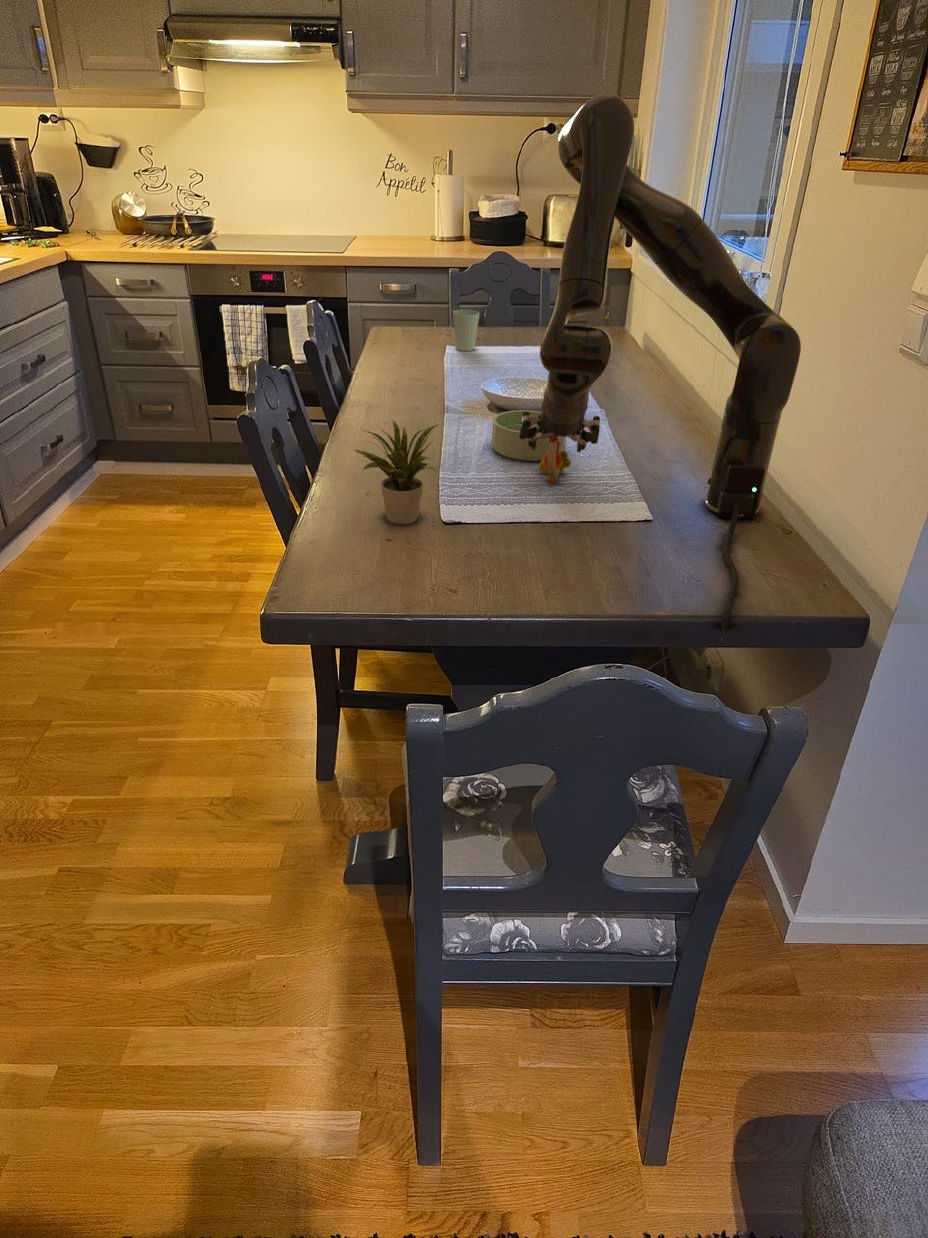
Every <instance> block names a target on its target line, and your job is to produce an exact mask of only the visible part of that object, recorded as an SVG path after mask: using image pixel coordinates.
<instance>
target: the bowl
mask: <svg viewBox="0 0 928 1238" xmlns="http://www.w3.org/2000/svg"><path fill="white" fill-rule="evenodd" d="M524 412H529V413H530V416H532V417H538V416H539V415H540V414H541V411H540V410H539V411H538V410H527V409H526V410H525V409H524V410H523V409H522V410H521V409H519V410H508V411H504V412H500V413H498V414H496V415H495V416H493V418H492V429H491V445H490V446H491V448H492V449H493V450H494V451H495V452H496V453H498V454H499V455H501V456H503V457H505V458H507V459H512V460H517V461H521V462H522V461H523V462H541V461H542V460H543V458H544V457H545V456H546V454H547V453H548V442H549V441H550V438H549V437H547V438H545V439H543V440H541V439H538V440H537V441H536V448H535V449H532V447H529V446H528V442H529V439H528V438H526V439H520V438H519V435H520V424H521V420H522V415H523V413H524ZM534 425H535V424H534ZM557 439H558V440H559V442H560V446H559V448H560V452H561V451H566V445H567V444H566V443H567V437H562V436H558V437H557Z"/></svg>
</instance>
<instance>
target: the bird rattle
mask: <svg viewBox="0 0 928 1238" xmlns="http://www.w3.org/2000/svg"><path fill="white" fill-rule="evenodd" d="M557 437H558V436H549V438H550V441H549V442H548V453H547V454H546V456H545V457H544V458H543V460H542V461H540V463H539V464H538V467H539V468H538V471H539V473H540V474H542V475H546V474H548V477H549V481H550V482H551V483H557V482H558V480H559V475H562V474H563V473H564V469H565V468H566V469H567V468H570V467H571V464H572V462H571V460H570V459H569V457H568V452H567V451H566V450H565V451H561V452H560V448H559V446H560V442H559V440H558V439H557Z"/></svg>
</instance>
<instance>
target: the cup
mask: <svg viewBox="0 0 928 1238" xmlns="http://www.w3.org/2000/svg"><path fill="white" fill-rule="evenodd" d="M452 314H453V330H454V331H453V333H454V343H455V350H457V351H461V352H471V351H474V350H475V347H476V340H477V333H478V325H479V320H480V312H479V311H477V310H472V309H456V310H454V311H452Z"/></svg>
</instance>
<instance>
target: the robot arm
mask: <svg viewBox="0 0 928 1238" xmlns="http://www.w3.org/2000/svg"><path fill="white" fill-rule="evenodd" d="M634 137H635V120H634V116H633V113H632V111H631V109H630V107H629V105H628V104H627V102H625V100H624V99H623V98H621V97H620V96H618V95H616V94H614V93H609V92H603V93H599V94H596V95H594V96H593V97H591V98H590V99H588V100H587V101H586V102H585V103H584V104H583V105H582V106H581V107H580V108H579V109H578V110H577V111H576V113H574V115H573V116H571V118H570V119H569V121H568V122H567V123H565V125H564V127H563V128H562V129H561V131H560V133H559V135H558V139H557V153H558V157H559V159H560V162H561V163H562V166H563V167H564V168H565V170H566V171H567V172H568V174H569V175H570V176H571V177H572V179H574V181H576V182H577V183H578V184H579V190H578V191H579V192H578V196H577V199H576V204H575V207H574V211H573V214H572V216H571V220H570V224H569V227H568V231H567V233H566V237H565V241H564V245H563V248H562V253H561V254H562V256H561V260H560V269H559V279H558V289H557V296H556V301H555V305H554V310H553V312H552V315H551V317H550V320H549V323H548V325H547V328H546V330H545V332H544V335H543V338H542V341H541V344H540V347H539V359H540V362H541V365H542V366H543V368H544V370H546V371H547V372H548V375H547V382H546V386H545V389H544V391H543V398H542V403H541V410H540V412H541V414H540V415H539V416H538V417H532V416H530V413H529V412H524V413H523V415H522V420H521V424H520V435H519V438H520V439H526V438H528V439H529V442H528V446H529V447H532V449H535V448H536V441H537V440H538V439H541V440H543V439H545V438H547V437H549V436H562V437H566V438H569V439H570V440H572V441H573V442H574V443H575V442H576V453H581V452H582V451H585V449H586V447H587V445H588V443H590V444H592V445H595V444H597V443H598V442H599V436H600V429H601V417H600V416H598V415H595V416H593V418H592V419H585V415H586V413H587V411H588V407H589V406H588V403H589V397H590V396H589V394H590V390H591V387H592V386H593V385H594V383H596V382H597V380H598V379H599V378H601V376H602V375H603V374H604V372H605V371H606V369H607V367H608V365H609V363H610V360H611V357H612V352H613V344H612V340H611V337H610V335H609V333H608V332H607V331H606V330H605V329H603V328H601V327H597V326H587V325H575V324H567V323H568V322H569V321H570V320H571V319H573V318H575V317H577V316H582V315H590V314H594V313H597V312H599V311H600V310H601V309H602V308H603V306H604V302H605V297H606V287H607V277H608V270H609V269H608V268H609V259H610V250H611V249H610V248H611V242H612V235H613V228H614V224H615V223H614V222H615V220H616V221H617V222H618V223H619V224H620V225H621V226H622V228H624V230H625V231H626V232H627V233H628V234H629V235H630V237H632V238H633V240H634V241H635V242H636V243H637V244H638V245H639V246H640V247H641V249H642V250H643V251H644V252H645V253H646V255H647V256H648V257H649V259H650V260H651V261H652V262H653V264H654V265H655V266H656V267H657V268H658V269H659V270H660V272H662V274H663V275H664V276H665V277H666V279H667V280H668V281H669V282H670V283H671V284H672V285H673V286H674V287H675V288H676V289H677V290H678V291H679V292H680V293H682V295H684V297H686V298H687V299H689V300H690V302H692V303H693V304H695V305H696V306H697V307H698V308H700V309H701V310H702V311H703V312H705V314H707V315H708V317H709V318H710V319H711V320H712V321H713V322H714V324H715V325H716V326H717V328H718V329H719V331H720V332H721V333H722V335H723V336H724V337H725V339H726V341H727V342H728V344H729V345H730V346H731V349H732V350H733V352H734V354H735V355H736V358H737V359H738V365H737V370H736V374H735V378H734V383H733V388H732V391H731V393H730V394H729V395H728V396H727V398H726V401H725V407H724V412H723V417H722V421H721V426H720V430H719V435H718V439H717V440H718V441H717V445H716V451H715V455H714V460H713V466H712V470H711V475H710V477H709V478H708V480H707V484H706V485H707V486H708V492H707V495H706V497H705V502H704V505H705V506H704V507H705V508H706V509H707V510H708V511H710V512H712V513H714V514H715V515H717V516H718V517H719V518H724V519H725V518H726V519H727V518H728V519H731V520H730V523H729V526H728V528H727V531H726V532H727V533H726V535H725V539H724V541H723V544H722V557H723V561H724V563H725V565H726V566H727V568H728V570H729V573H730V576H731V582H730V583H731V584H730V588H729V591H728V594H727V596H726V600H725V603H724V608H723V613H722V616H721V622H720V627H719V628H720V629H721V630H722V631H727V630H728V628H729V623H730V619H731V614H732V609H733V603H734V600H735V597H736V594H737V591H738V587H739V582H740V581H739V580H740V579H739V574H738V573H739V572H738V570H737V568H736V566H735V564H734V562H733V560H732V559H731V555H730V544H731V542H732V538H733V535H734V532H735V529H736V526H737V523H738V519H740V520H741V519H743V520H755V517H756V516H757V515H758V514H759V511H760V509H761V508H760V505H761V500H762V496H763V493H764V492H763V491H764V488H765V483H766V480H767V475H768V472H769V466H770V462H771V459H772V454H773V450H774V446H775V441H776V439H777V433H778V430H779V425H780V421H781V417H782V413H783V410H784V409H785V407H786V406H787V403H788V402H789V399H790V397H791V396H790V395H791V392H792V389H793V385H794V381H795V378H796V374H797V370H798V368H799V367H798V366H799V362H800V359H801V358H800V357H801V353H802V351H801V350H802V342H801V338H800V335H799V332H797V330H796V329H795V328H794V327H793V326H792V325H791V324H790V322H789V321H787V320H786V319H784V318H783V317H782V316H781V315H779V314H778V313H777V312H776V311H774V309H772V308H771V307H770V306H769V305H768V304H767V303H766V302H765V301H764V300H762V299H761V298H760V296H759V295H758V294H757V293H756V292H754V291H753V289H752V288H751V287H750V286H749V285H748V284H747V283H746V281H745V280H744V279H743V276H742V274H741V273H740V271H739V270H738V267H737V266H736V264H735V262H734V260H733V259H732V257H731V255H730V254H729V252H728V250H727V249H726V247H725V246H724V245H723V243H722V241H721V240H720V239H719V237H718V236H717V235H716V233H715V232H714V231H713V230H712V229H711V227H710V226H709V225H708V224H707V223H706V221H705V220H704V219H703V218H702V217H701V215H700V214H699V213H698V212H697V211H696V210H695V209H693V208H692V207H691V206H690V205H688V204H687V203H685V202H683V201H682V200H679V199H678V198H677V197H673V196H671V195H670V194H668V193H665V192H663V191H661V190H659V189H657V188H654V187H652V186H650V185H649V184H647V183H646V182H645V181H644V180H643V179H641V178H640V177H639V176H638V175H637V174H636V173H635V172H634V171H633V170H632V168H631V167H630V166H629V164H628V161H629V158H630V154H631V150H632V147H633V142H634ZM534 424H535V425H534ZM586 428H587V429H586Z"/></svg>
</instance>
